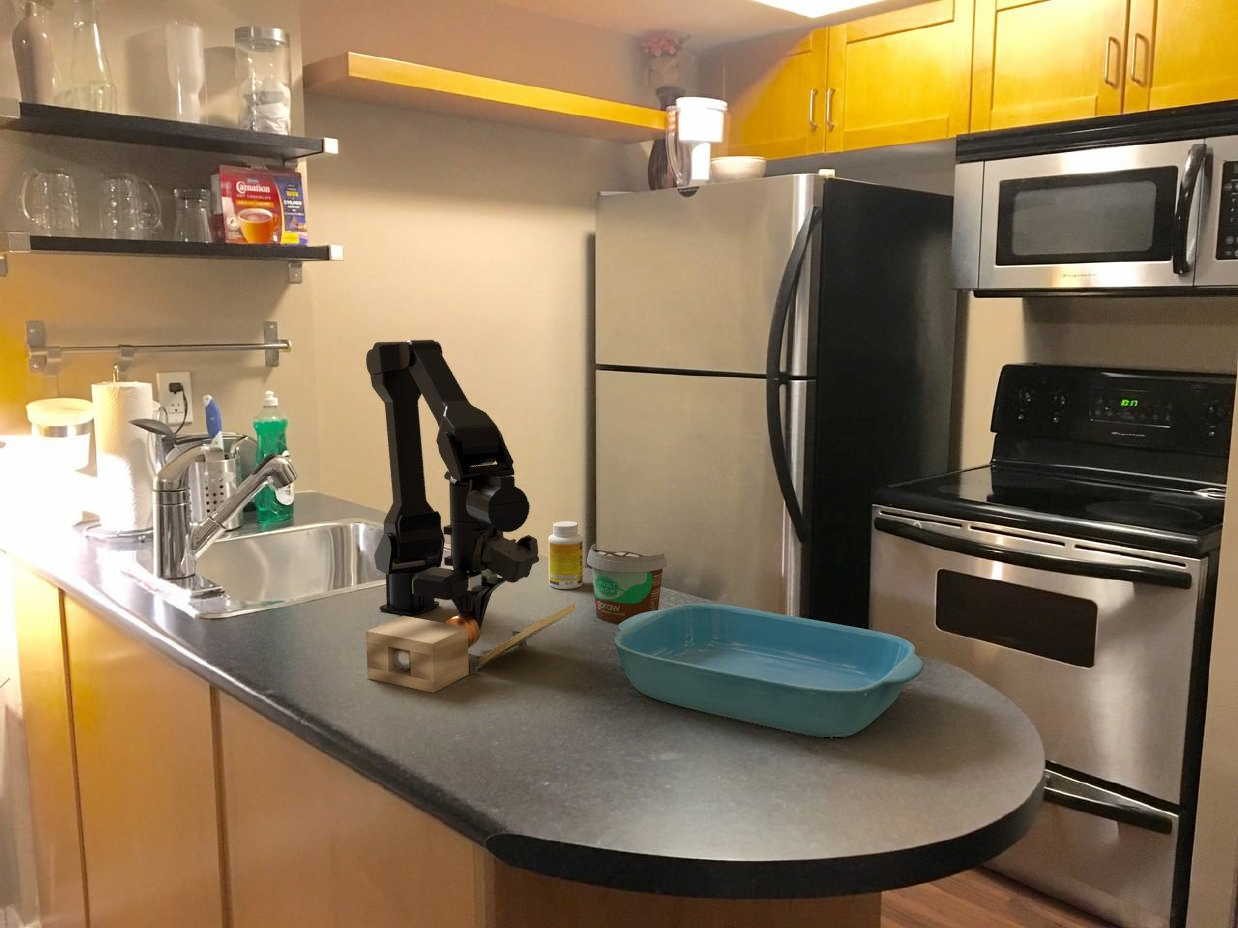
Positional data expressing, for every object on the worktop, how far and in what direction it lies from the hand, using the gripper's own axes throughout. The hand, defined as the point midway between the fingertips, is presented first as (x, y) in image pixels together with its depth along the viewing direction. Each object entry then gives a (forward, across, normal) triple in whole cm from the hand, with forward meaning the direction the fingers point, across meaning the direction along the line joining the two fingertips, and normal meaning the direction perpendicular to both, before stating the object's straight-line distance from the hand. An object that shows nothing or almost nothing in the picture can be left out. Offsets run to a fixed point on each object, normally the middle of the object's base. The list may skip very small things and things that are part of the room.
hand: (474, 633), depth 139 cm
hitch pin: (+1, -8, 0) cm, 8 cm away
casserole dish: (+2, +2, -39) cm, 39 cm away
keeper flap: (-1, -2, -9) cm, 10 cm away
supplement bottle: (+2, +32, +5) cm, 33 cm away
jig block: (+2, -12, 0) cm, 12 cm away
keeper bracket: (+2, -2, -4) cm, 5 cm away
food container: (+2, +20, -11) cm, 23 cm away
